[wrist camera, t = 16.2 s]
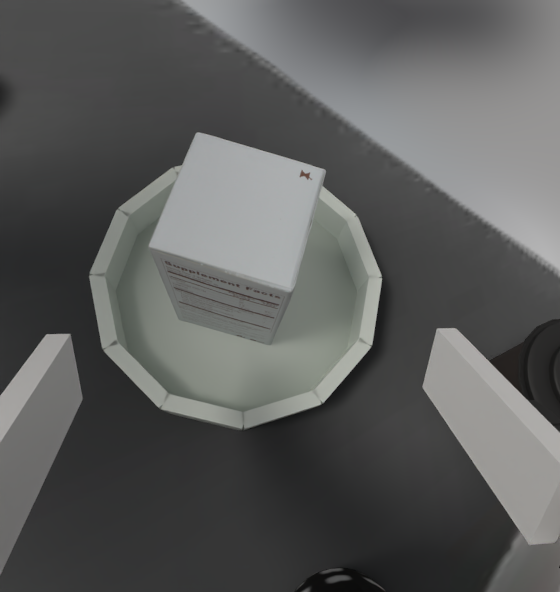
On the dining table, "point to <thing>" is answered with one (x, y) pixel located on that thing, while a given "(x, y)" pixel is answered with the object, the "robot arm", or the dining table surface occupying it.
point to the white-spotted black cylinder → (339, 582)
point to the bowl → (228, 348)
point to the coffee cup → (535, 366)
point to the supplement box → (235, 236)
